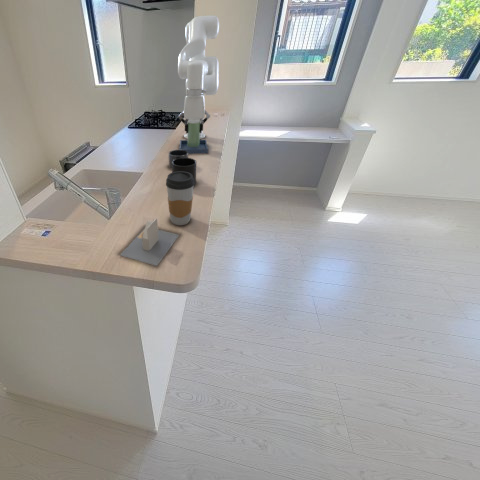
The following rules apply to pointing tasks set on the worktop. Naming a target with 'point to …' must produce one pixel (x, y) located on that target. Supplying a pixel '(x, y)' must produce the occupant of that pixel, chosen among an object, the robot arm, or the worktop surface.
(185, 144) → the tray
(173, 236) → the architectural model
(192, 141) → the green cup
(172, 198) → the coffee cup
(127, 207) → the worktop surface
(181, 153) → the dark gray cup
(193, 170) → the mug
